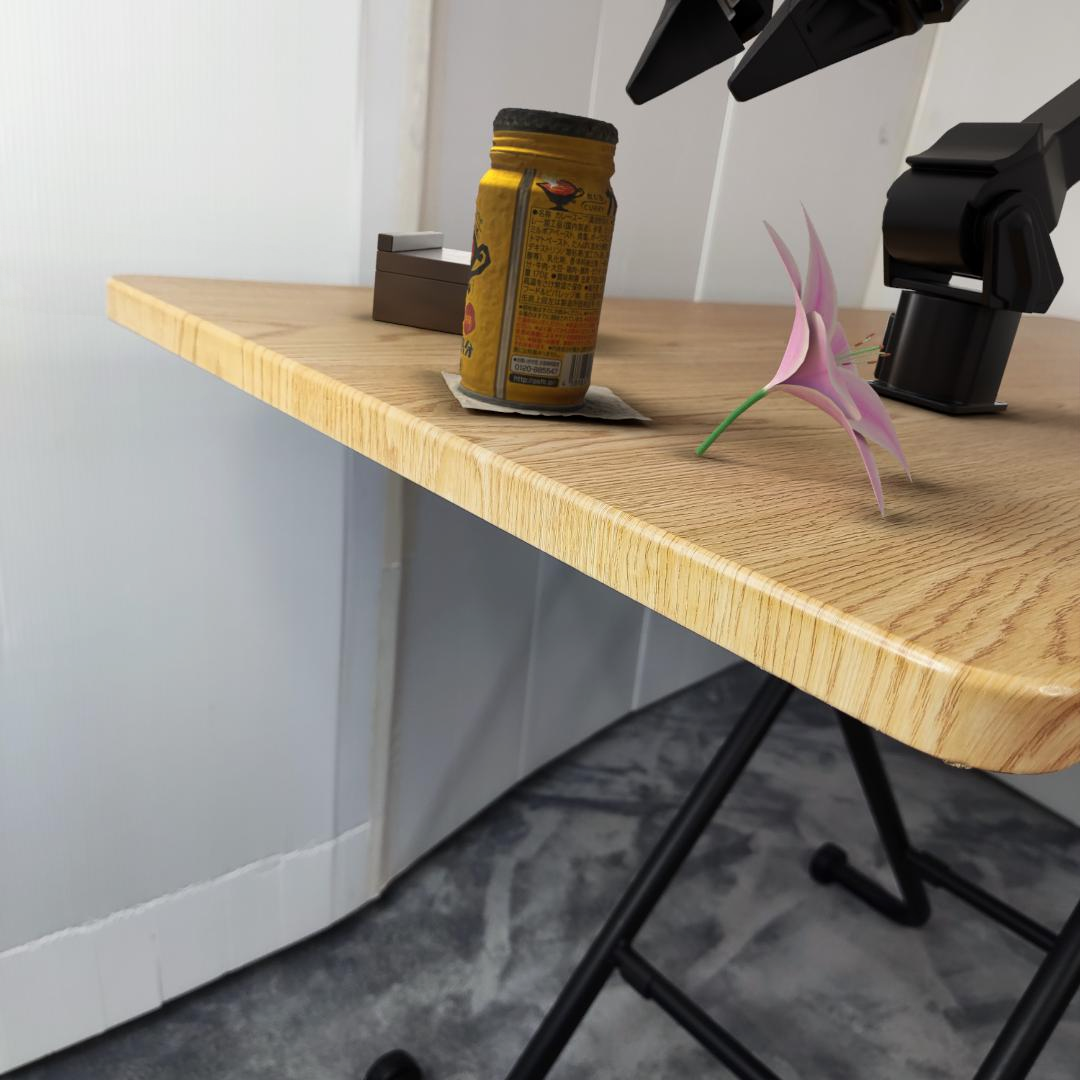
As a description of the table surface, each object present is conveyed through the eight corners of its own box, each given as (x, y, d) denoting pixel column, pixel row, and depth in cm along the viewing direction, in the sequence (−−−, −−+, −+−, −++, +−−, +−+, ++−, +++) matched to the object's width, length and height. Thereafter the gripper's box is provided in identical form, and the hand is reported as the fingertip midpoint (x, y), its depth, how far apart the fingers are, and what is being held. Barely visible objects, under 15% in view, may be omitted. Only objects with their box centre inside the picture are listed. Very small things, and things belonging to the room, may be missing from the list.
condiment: (439, 375, 46) (466, 106, 42) (606, 390, 48) (647, 136, 44) (461, 412, 39) (495, 97, 35) (652, 428, 41) (706, 133, 37)
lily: (738, 563, 30) (973, 320, 26) (554, 346, 36) (723, 126, 33) (878, 599, 39) (1067, 422, 35) (712, 420, 45) (857, 255, 42)
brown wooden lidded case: (571, 330, 67) (582, 254, 65) (540, 348, 58) (552, 260, 56) (424, 305, 69) (431, 231, 67) (371, 319, 59) (377, 233, 58)
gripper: (705, -256, 48) (497, -31, 48) (1001, -438, 33) (693, -104, 33) (806, -57, 54) (621, 144, 54) (1097, -129, 39) (837, 153, 39)
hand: (677, 96), depth 45 cm, fingers open, 9 cm apart
